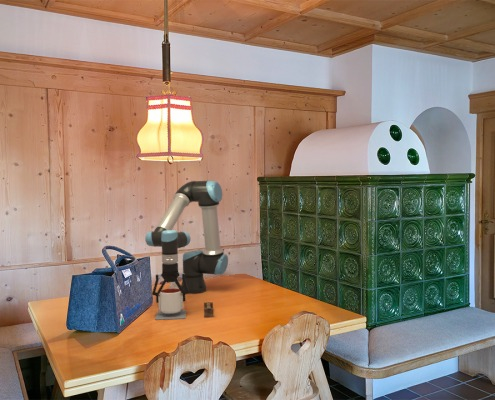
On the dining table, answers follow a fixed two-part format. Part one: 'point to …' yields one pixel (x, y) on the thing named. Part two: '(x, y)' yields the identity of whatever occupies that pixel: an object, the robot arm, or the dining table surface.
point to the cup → (170, 301)
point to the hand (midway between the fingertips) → (171, 308)
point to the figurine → (173, 286)
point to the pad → (171, 315)
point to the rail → (208, 309)
